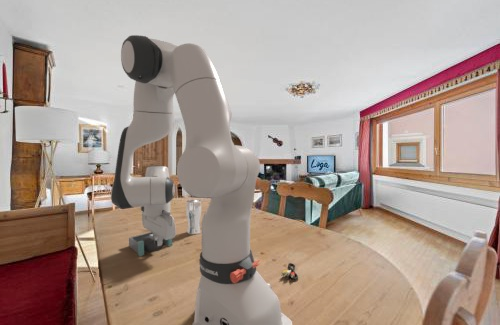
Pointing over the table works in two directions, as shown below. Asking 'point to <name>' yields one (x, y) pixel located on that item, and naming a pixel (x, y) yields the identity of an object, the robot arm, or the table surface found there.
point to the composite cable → (290, 272)
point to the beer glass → (193, 216)
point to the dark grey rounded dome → (150, 244)
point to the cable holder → (138, 243)
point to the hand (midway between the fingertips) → (158, 244)
